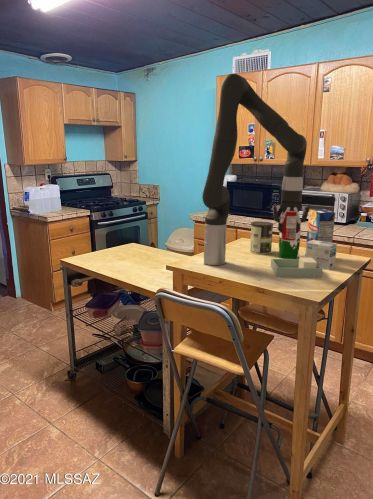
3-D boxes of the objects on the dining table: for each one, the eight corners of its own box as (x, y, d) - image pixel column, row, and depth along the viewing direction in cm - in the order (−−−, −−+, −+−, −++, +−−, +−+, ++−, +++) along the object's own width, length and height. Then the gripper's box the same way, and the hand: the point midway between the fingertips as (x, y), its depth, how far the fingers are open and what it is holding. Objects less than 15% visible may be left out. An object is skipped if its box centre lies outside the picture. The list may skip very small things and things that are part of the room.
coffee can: (272, 250, 190) (274, 222, 186) (270, 255, 180) (272, 225, 177) (251, 248, 193) (252, 220, 190) (248, 253, 184) (249, 224, 180)
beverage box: (315, 262, 170) (320, 212, 164) (305, 255, 180) (309, 209, 175) (330, 262, 171) (335, 212, 165) (319, 255, 181) (323, 208, 176)
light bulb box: (335, 268, 162) (337, 243, 159) (328, 271, 157) (331, 245, 154) (310, 263, 169) (312, 239, 166) (303, 266, 164) (306, 241, 161)
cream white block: (302, 274, 151) (303, 262, 150) (298, 269, 158) (299, 257, 156) (315, 274, 151) (317, 262, 150) (310, 269, 158) (311, 257, 156)
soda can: (286, 237, 155) (288, 208, 152) (298, 240, 151) (300, 209, 148) (278, 239, 151) (280, 209, 148) (290, 242, 148) (292, 211, 145)
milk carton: (277, 254, 182) (280, 212, 177) (297, 255, 180) (301, 213, 175) (278, 259, 173) (281, 215, 168) (299, 261, 172) (302, 216, 167)
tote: (276, 277, 148) (277, 268, 148) (270, 268, 161) (271, 258, 160) (321, 278, 148) (322, 268, 147) (311, 268, 161) (312, 259, 160)
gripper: (274, 189, 143) (271, 234, 147) (314, 190, 143) (310, 234, 147) (271, 187, 150) (268, 230, 154) (308, 188, 150) (304, 230, 154)
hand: (288, 232), depth 151 cm, fingers closed on soda can, 5 cm apart
